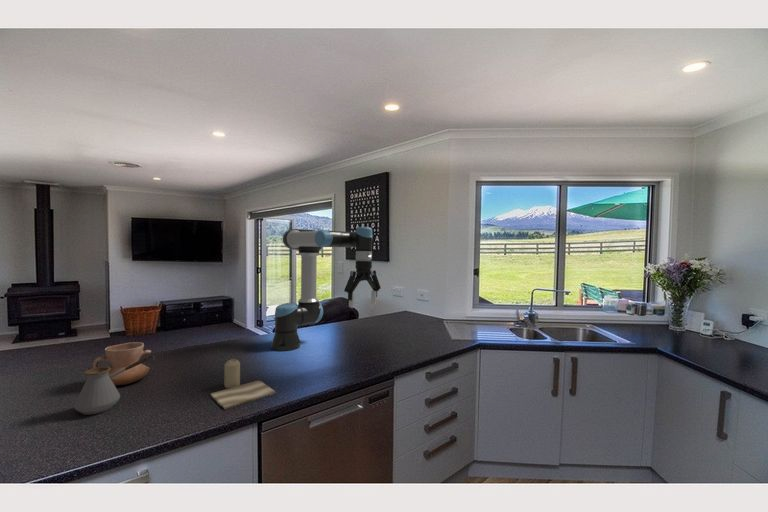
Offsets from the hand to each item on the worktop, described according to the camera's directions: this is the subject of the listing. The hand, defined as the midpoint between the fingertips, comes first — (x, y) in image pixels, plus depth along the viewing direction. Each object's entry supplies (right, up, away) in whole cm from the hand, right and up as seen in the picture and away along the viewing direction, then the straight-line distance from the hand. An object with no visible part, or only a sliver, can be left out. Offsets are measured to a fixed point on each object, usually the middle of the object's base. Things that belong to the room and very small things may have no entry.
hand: (362, 305), depth 152 cm
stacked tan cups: (-93, -27, -23) cm, 100 cm away
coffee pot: (-81, -27, -42) cm, 95 cm away
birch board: (-42, -28, -32) cm, 60 cm away
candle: (-50, -28, -25) cm, 62 cm away
